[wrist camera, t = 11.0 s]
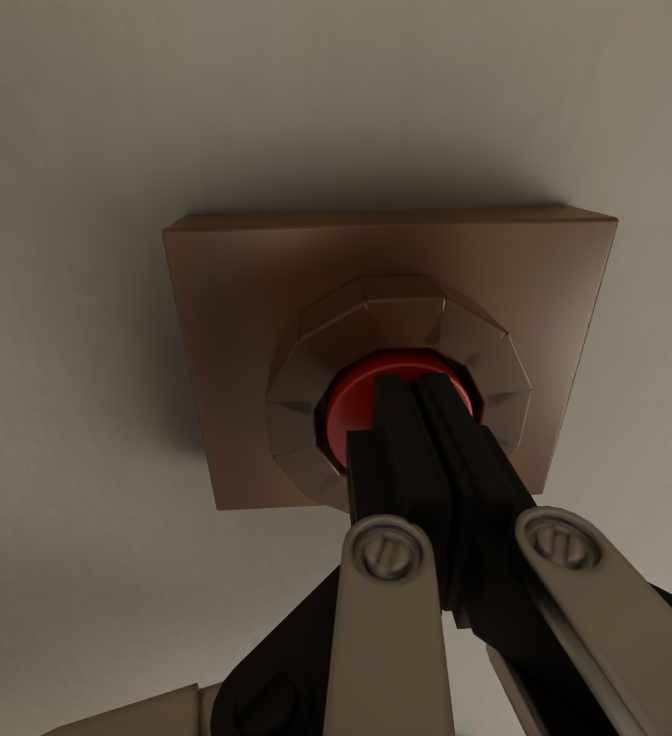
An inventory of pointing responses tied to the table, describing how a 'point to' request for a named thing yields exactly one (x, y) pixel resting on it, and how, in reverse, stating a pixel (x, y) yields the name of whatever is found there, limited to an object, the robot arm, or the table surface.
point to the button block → (377, 328)
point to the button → (356, 389)
